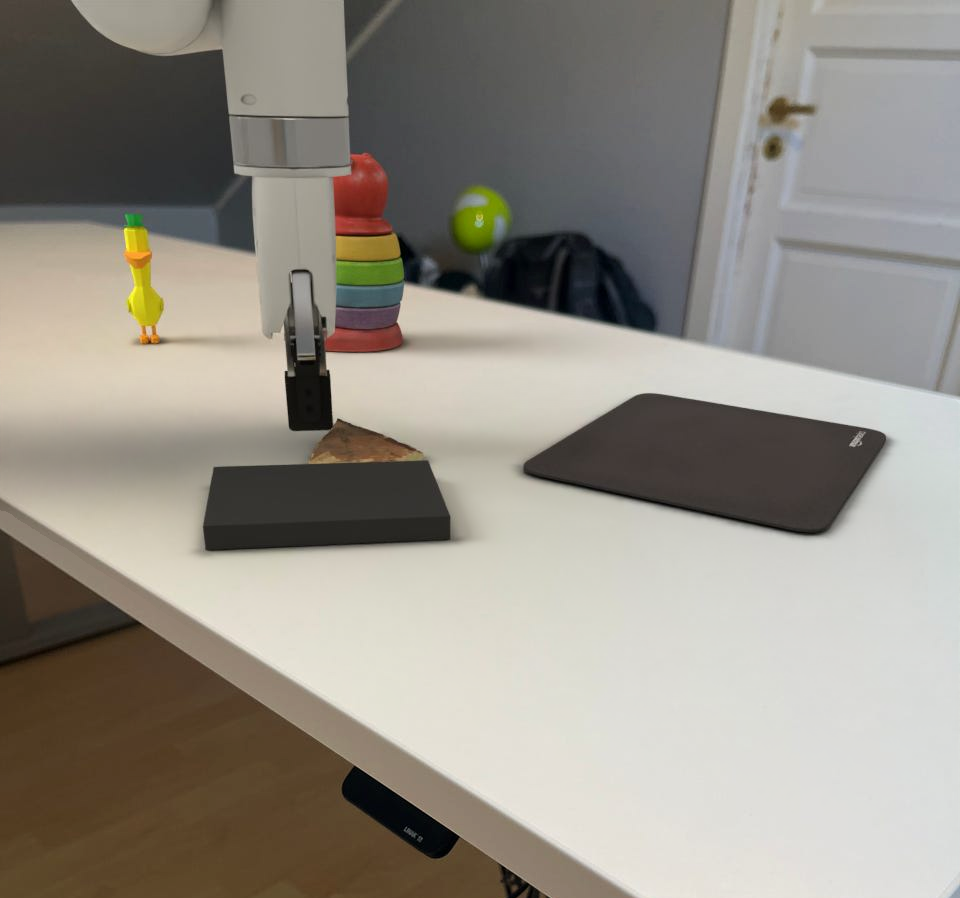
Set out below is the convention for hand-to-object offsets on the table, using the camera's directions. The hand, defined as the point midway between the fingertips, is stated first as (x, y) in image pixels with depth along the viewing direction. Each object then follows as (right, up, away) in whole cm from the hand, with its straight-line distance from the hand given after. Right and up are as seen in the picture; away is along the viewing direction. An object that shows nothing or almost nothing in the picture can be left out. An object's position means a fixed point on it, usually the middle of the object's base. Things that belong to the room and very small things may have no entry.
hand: (311, 426), depth 72 cm
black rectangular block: (+3, -8, -11) cm, 14 cm away
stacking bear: (0, +15, +30) cm, 34 cm away
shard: (+3, -3, -2) cm, 5 cm away
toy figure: (-21, +15, +28) cm, 38 cm away
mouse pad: (+30, -2, +1) cm, 30 cm away
